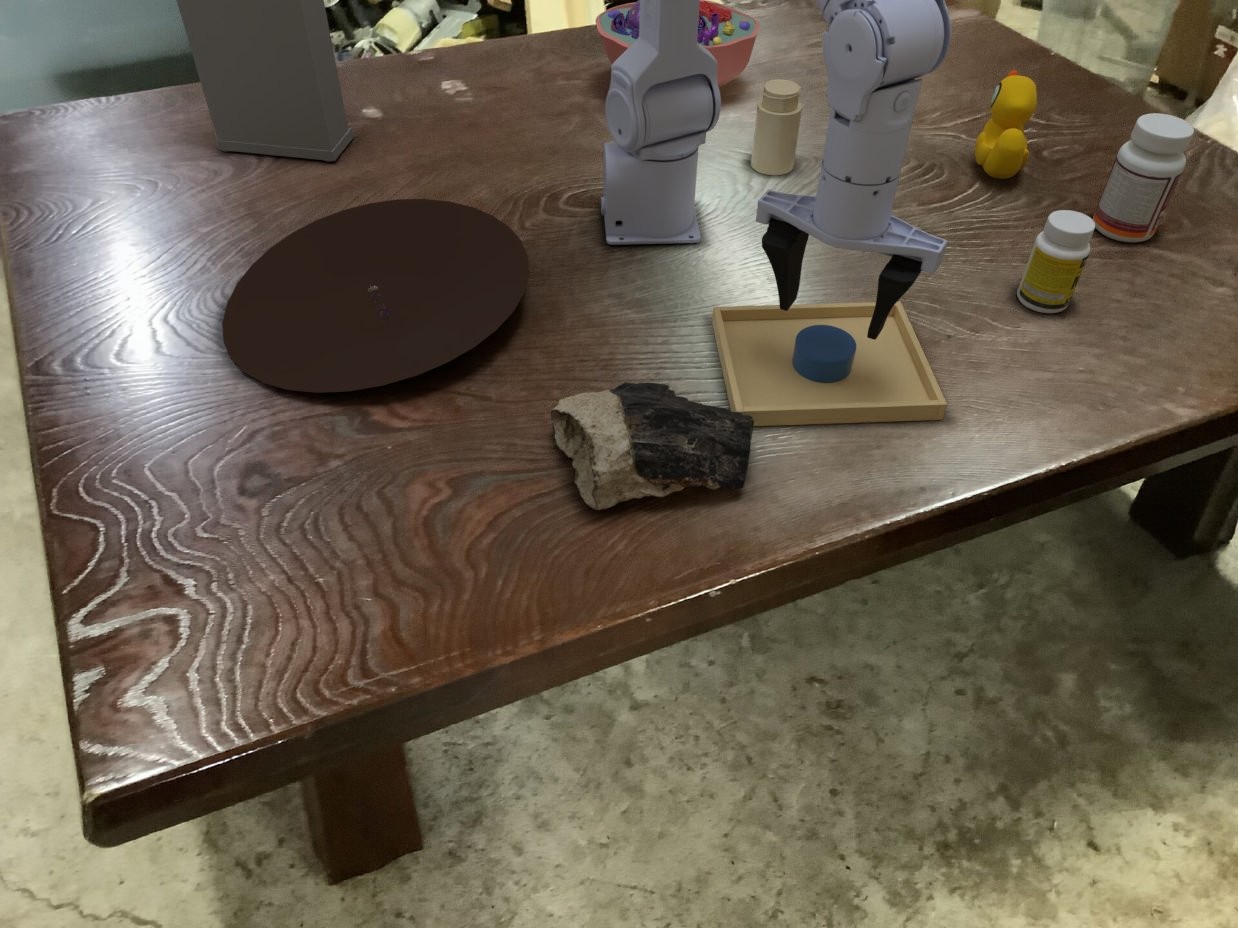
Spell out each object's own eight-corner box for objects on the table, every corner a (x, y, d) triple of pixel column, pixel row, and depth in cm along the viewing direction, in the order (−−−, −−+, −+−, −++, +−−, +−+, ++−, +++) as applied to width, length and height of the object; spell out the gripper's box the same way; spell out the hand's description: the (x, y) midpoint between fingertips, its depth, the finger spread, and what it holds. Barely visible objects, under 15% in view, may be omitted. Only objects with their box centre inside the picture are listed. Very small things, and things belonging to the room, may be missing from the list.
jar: (755, 176, 108) (764, 97, 102) (746, 155, 112) (755, 78, 106) (797, 174, 109) (809, 95, 103) (788, 154, 112) (799, 76, 106)
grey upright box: (355, 138, 114) (309, -102, 96) (335, 163, 110) (283, -83, 92) (243, 128, 115) (178, -110, 98) (219, 152, 111) (146, -92, 94)
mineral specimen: (535, 365, 75) (715, 316, 78) (547, 435, 80) (715, 386, 83) (587, 472, 66) (788, 412, 69) (596, 543, 71) (783, 485, 74)
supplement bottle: (1071, 318, 90) (1103, 238, 84) (1018, 311, 91) (1046, 232, 85) (1065, 288, 94) (1096, 210, 88) (1013, 282, 94) (1041, 204, 88)
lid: (851, 387, 82) (856, 365, 81) (790, 380, 83) (794, 358, 81) (851, 349, 86) (856, 328, 84) (793, 342, 86) (796, 321, 85)
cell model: (759, 121, 118) (770, 24, 110) (593, 118, 118) (592, 22, 110) (748, 63, 130) (757, -28, 122) (597, 61, 130) (597, -30, 122)
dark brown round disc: (204, 260, 96) (193, 227, 93) (479, 204, 104) (476, 172, 101) (247, 442, 77) (234, 407, 75) (576, 357, 86) (575, 323, 83)
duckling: (967, 142, 115) (991, 57, 108) (1015, 147, 114) (1042, 61, 107) (972, 190, 107) (998, 101, 100) (1023, 195, 106) (1053, 106, 99)
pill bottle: (1125, 209, 104) (1168, 106, 96) (1166, 238, 100) (1215, 134, 92) (1077, 219, 103) (1117, 115, 95) (1118, 249, 99) (1163, 144, 91)
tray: (734, 427, 79) (736, 411, 78) (711, 321, 89) (713, 306, 88) (942, 419, 80) (947, 404, 79) (897, 316, 90) (900, 301, 89)
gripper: (974, 168, 71) (931, 319, 81) (790, 121, 76) (769, 269, 86) (946, 211, 67) (903, 366, 77) (752, 159, 72) (735, 310, 82)
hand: (830, 318), depth 81 cm, fingers open, 7 cm apart
